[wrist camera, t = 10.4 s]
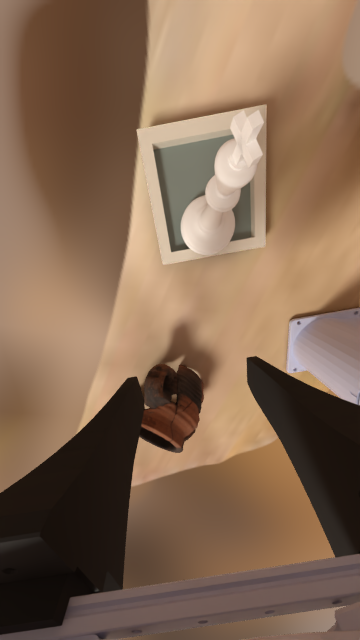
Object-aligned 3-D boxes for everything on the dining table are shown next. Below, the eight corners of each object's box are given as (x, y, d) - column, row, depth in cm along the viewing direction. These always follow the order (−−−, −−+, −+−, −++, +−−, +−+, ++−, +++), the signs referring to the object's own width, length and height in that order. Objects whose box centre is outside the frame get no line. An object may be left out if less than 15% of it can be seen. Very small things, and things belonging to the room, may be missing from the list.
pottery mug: (212, 399, 26) (198, 465, 20) (159, 387, 30) (134, 440, 24) (198, 344, 19) (170, 421, 13) (132, 338, 23) (88, 395, 17)
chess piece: (218, 187, 15) (291, -5, 5) (242, 237, 16) (347, 150, 6) (170, 216, 16) (158, 87, 6) (197, 265, 16) (226, 223, 6)
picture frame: (254, 123, 15) (266, 104, 13) (255, 247, 18) (265, 246, 16) (140, 145, 15) (136, 129, 13) (163, 264, 18) (162, 265, 17)
